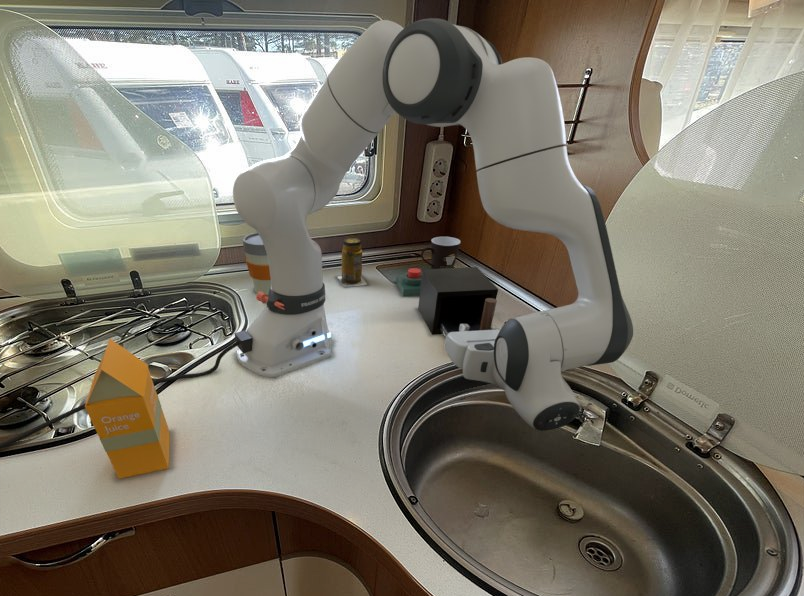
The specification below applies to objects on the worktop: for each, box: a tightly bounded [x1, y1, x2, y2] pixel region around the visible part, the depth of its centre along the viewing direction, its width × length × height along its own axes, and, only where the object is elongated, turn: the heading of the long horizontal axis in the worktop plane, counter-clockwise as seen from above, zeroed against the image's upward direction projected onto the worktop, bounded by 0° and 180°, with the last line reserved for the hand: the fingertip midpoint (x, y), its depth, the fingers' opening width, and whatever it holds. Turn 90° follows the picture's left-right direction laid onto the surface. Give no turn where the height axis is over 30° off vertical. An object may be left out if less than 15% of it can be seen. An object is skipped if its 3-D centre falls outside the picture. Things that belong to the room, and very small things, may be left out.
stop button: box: [407, 267, 422, 279], centre depth 120 cm, size 4×4×2 cm
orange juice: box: [85, 337, 171, 480], centre depth 64 cm, size 8×9×20 cm
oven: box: [417, 266, 499, 336], centre depth 104 cm, size 14×14×11 cm
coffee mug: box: [420, 236, 461, 269], centre depth 130 cm, size 12×9×10 cm
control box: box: [395, 271, 422, 297], centre depth 122 cm, size 10×8×4 cm
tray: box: [438, 298, 498, 340], centre depth 93 cm, size 16×11×12 cm
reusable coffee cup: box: [242, 232, 271, 295], centre depth 120 cm, size 13×13×15 cm
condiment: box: [336, 237, 368, 288], centre depth 125 cm, size 7×8×12 cm
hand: (485, 325), depth 87 cm, fingers open, 8 cm apart
